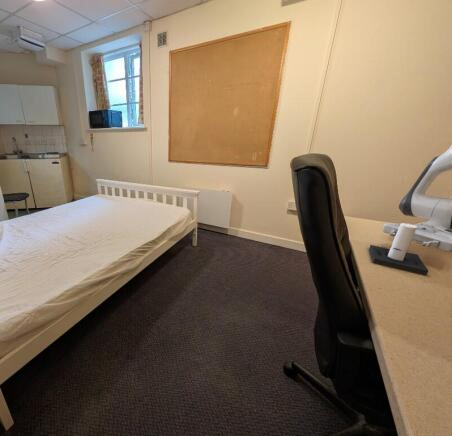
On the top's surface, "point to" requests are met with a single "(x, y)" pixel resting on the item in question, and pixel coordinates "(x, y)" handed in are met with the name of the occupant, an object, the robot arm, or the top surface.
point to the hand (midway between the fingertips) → (407, 239)
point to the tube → (402, 241)
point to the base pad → (408, 263)
